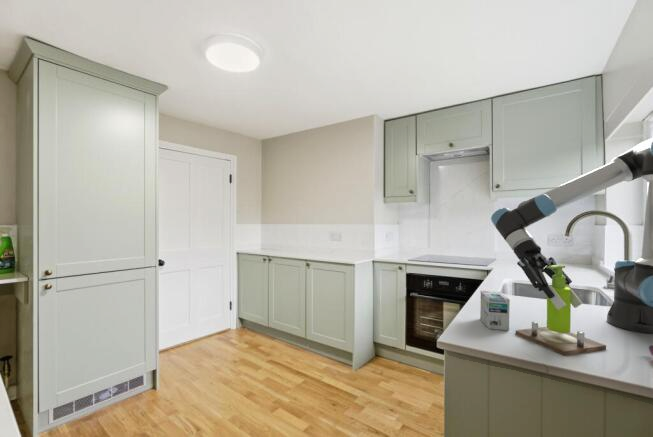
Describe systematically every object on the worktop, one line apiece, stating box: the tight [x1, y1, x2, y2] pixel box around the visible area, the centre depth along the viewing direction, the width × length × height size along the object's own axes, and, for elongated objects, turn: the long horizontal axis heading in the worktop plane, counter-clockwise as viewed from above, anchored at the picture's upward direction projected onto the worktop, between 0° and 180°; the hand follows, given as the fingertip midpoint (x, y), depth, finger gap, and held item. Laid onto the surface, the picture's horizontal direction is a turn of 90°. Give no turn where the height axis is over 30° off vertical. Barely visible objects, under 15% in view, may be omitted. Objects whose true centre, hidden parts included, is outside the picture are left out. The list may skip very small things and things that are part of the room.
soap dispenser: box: [546, 264, 572, 333], centre depth 97 cm, size 6×7×20 cm
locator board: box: [515, 321, 607, 357], centre depth 97 cm, size 16×16×5 cm
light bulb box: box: [479, 290, 511, 331], centre depth 111 cm, size 11×7×11 cm, turn 168°
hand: (570, 306), depth 93 cm, fingers closed on soap dispenser, 6 cm apart
